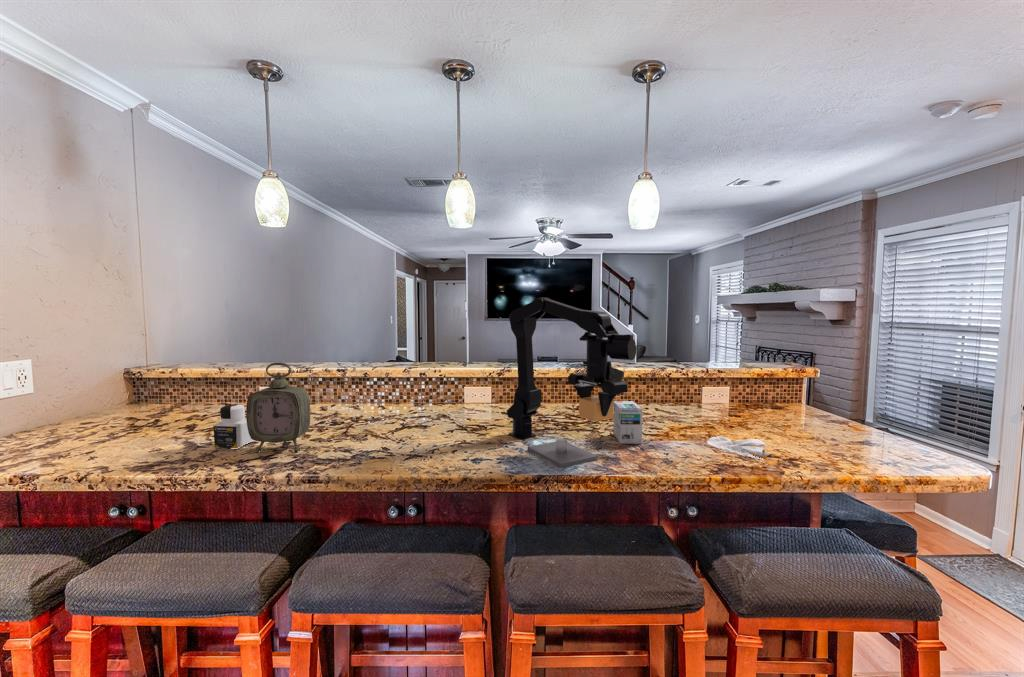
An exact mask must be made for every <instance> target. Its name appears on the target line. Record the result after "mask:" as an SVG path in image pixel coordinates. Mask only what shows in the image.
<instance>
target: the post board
mask: <svg viewBox="0 0 1024 677" xmlns="http://www.w3.org/2000/svg"><path fill="white" fill-rule="evenodd" d="M527 451H529V452H530V453H532V454H534V455H536V456H538V457H540V458H542V459H544V460H545V461H547V462H548V463H551V464H553V465H555V466H557V467H559V468H561V469H562V468H566V467H567V468H568V467H571V466H575V465H579V464H583V463H584V462H585V463H588V462H589V463H590V462H594V461H598V460H599V455H597V454H595V453H592V452H590V451H588V450H585V449H583V448H581V447H579V446H576V445H574V444H572V443H569V442H568V439H565V438H557V439H556V441H552V442H546V443H541V444H536V445H530V446H527ZM597 459H598V460H597ZM593 460H594V461H593Z"/></svg>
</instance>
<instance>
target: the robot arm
mask: <svg viewBox="0 0 1024 677" xmlns="http://www.w3.org/2000/svg"><path fill="white" fill-rule="evenodd" d="M545 314H548V315H551V316H555V317H557V318H559V319H564V320H566V321H569V322H571V323H574V324H576V325H577V326H578V327H579V328H580V329H582V330H584V331H585V332H584V333H583V335H582V336H580V337H579V341H583V342H585V341H586V360H583V361H582V364H583V365H584V366H586V367H585V369H586V370H585V371H586V372H576V373H570V374H569V375H568V376H567V378H568V380H567V382H568V383H567V384H570V385H573V388H574V389H575V391H576V392H577V395H578V396H579V398H586V397H592V391H593V390H594V388H595V387H597V388H598V387H600V390H601V391H598V392H597V396H599V402H600V407H601V412H602V416H607V413H608V410H609V408H610V405H611V403H612V400H614V398H615V397H617V395H621V394H623V393H628V391H629V390H628V388H629V386H628V385H629V384H628V383H627V382H626V381H624V380H623V378H624V374H625V371H623V370H621V369H618V368H617V367H616V368H615V367H612V361H611V360H622V361H633V360H634V359H635V358H636V356H637V352H638V351H637V350H638V347H637V345H636V341H635V339H634V334H633V333H630V334H629V333H628V334H619V332H618V330H617V329H616V328H615V326H614V325H613V323H612V319H611V316H610V314H608V313H607V312H605V311H600V310H599V311H598V310H587V309H582V308H579V307H575V306H572V305H570V304H569V305H568V304H566V303H562V302H559V301H556V300H554V299H551V298H549V297H537V298H536V299H534V300H533V301H531V302H529V303H527V304H525V305H523V306H521V307H519V308H514V309H513V310H512V311H511V313H510V314H509V316H508V318H509V324H510V329H511V332H512V333H513V335H514V337H515V341H516V342H515V343H516V362H517V363H516V364H517V380H518V381H517V382H518V383H517V387H516V389H515V391H514V396H513V404H511V406H510V407H509V408H508V409H507V410H506V415H507V418H509V419H512V431H510V432H508V436H511V437H513V438H515V439H517V440H521V439H527V438H533V437H536V436H537V435H536V433H533V422H532V419H533V418H532V416H535V415H536V414H537V412H538V410H539V408H540V407H541V404H542V402H543V399H542V391H543V390H542V388H537V386H536V383H535V375H534V374H535V372H534V371H535V370H534V354H533V353H534V352H533V350H534V349H533V336H534V333H535V331H536V329H537V321H538V320H539V319H541V318H542V317H543V316H544V315H545ZM608 357H609V358H610V359H611V360H608Z"/></svg>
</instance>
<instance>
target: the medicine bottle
mask: <svg viewBox="0 0 1024 677" xmlns="http://www.w3.org/2000/svg"><path fill="white" fill-rule="evenodd" d="M219 410H220V411H219V412H220V421H221V422H218V423H214V424H213V444H214V449H215V448H238V447H241V446H243V445H245V444H248V443H250V442H253V443H254V440H253V439H251V437H250V435H249V432H248V428H247V420H246V411H245V406H244V404H240V403H234V404H227V405H225V406H222V407H221V408H220V409H219ZM248 445H249V444H248Z"/></svg>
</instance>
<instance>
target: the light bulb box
mask: <svg viewBox="0 0 1024 677" xmlns="http://www.w3.org/2000/svg"><path fill="white" fill-rule="evenodd" d="M612 434H613V435H614V437H615V438H616V439H617V441H618V442H619V444H623V445H625V444H634V445H636V444H637V445H642V444H643V407H641V406H640V405H639V404H637V403H636V402H635V401H634V400H631V401H629V400H614V406H613V433H612Z"/></svg>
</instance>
